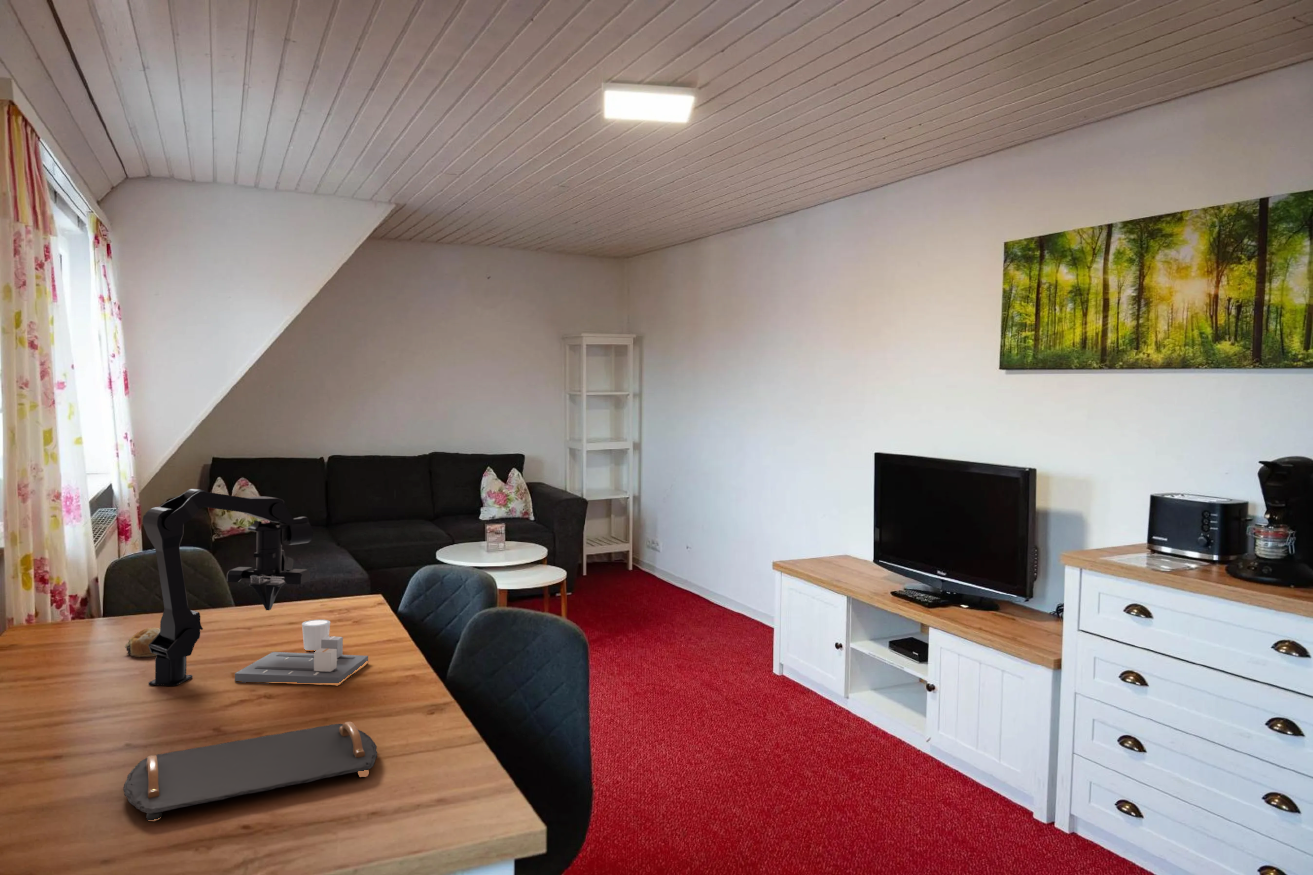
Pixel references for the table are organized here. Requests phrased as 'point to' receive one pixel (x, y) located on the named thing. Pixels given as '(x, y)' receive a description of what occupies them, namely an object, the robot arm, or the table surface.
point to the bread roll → (142, 643)
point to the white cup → (314, 633)
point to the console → (297, 669)
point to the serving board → (247, 767)
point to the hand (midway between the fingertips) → (268, 609)
